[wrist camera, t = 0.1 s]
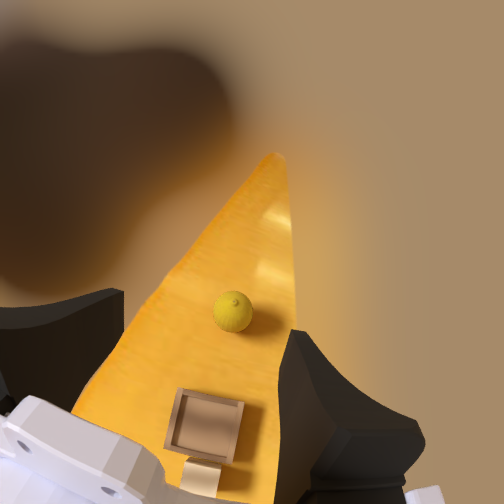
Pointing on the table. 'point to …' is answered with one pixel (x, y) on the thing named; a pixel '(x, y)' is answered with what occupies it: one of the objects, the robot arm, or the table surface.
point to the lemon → (233, 311)
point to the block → (200, 477)
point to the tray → (204, 426)
